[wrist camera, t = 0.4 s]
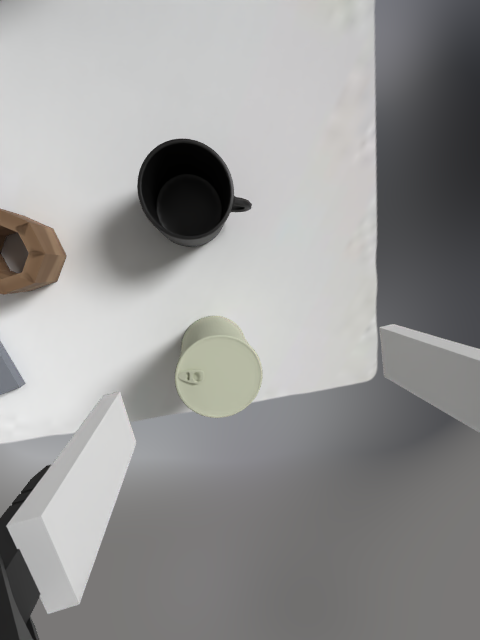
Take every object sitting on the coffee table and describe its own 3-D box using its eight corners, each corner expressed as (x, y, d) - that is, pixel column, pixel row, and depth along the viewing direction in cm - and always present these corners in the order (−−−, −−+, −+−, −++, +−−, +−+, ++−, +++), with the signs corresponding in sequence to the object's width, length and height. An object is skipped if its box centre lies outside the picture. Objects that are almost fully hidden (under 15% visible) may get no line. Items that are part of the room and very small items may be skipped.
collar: (-26, 232, 33) (-65, 226, 28) (43, 208, 34) (16, 198, 29) (11, 298, 35) (-20, 302, 30) (75, 274, 36) (56, 275, 31)
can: (183, 313, 38) (176, 332, 27) (248, 318, 40) (269, 338, 28) (179, 376, 40) (170, 420, 28) (242, 378, 41) (258, 422, 30)
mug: (242, 250, 38) (255, 245, 29) (152, 244, 36) (137, 236, 27) (247, 177, 36) (262, 147, 28) (152, 166, 35) (136, 131, 26)
